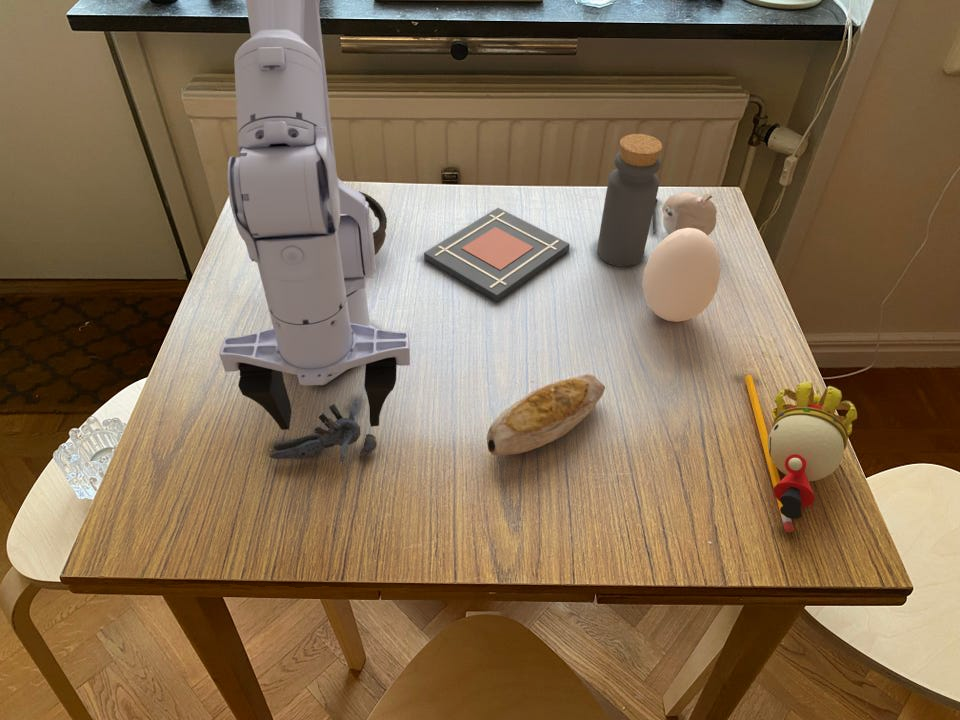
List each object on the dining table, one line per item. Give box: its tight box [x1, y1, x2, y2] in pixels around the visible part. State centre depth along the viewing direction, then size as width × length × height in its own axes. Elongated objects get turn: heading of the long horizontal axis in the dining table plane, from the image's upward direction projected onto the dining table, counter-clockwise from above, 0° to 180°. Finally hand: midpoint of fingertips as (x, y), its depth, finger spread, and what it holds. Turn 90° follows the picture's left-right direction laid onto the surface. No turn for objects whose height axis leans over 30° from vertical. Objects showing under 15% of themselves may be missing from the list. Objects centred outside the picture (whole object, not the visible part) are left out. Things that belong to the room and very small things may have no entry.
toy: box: [768, 381, 858, 520], centre depth 64 cm, size 7×7×15 cm
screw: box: [652, 198, 659, 234], centre depth 95 cm, size 8×1×1 cm
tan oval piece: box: [486, 374, 606, 457], centre depth 67 cm, size 5×14×4 cm, turn 126°
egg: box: [642, 228, 721, 323], centre depth 77 cm, size 8×8×11 cm
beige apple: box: [662, 191, 718, 237], centre depth 89 cm, size 7×6×8 cm
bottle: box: [596, 133, 663, 267], centre depth 84 cm, size 6×6×15 cm
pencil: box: [744, 374, 795, 533], centre depth 67 cm, size 1×18×1 cm, turn 175°
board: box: [423, 207, 571, 303], centre depth 88 cm, size 14×12×1 cm
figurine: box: [269, 399, 378, 465], centre depth 65 cm, size 12×10×5 cm
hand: (331, 419), depth 62 cm, fingers open, 7 cm apart
